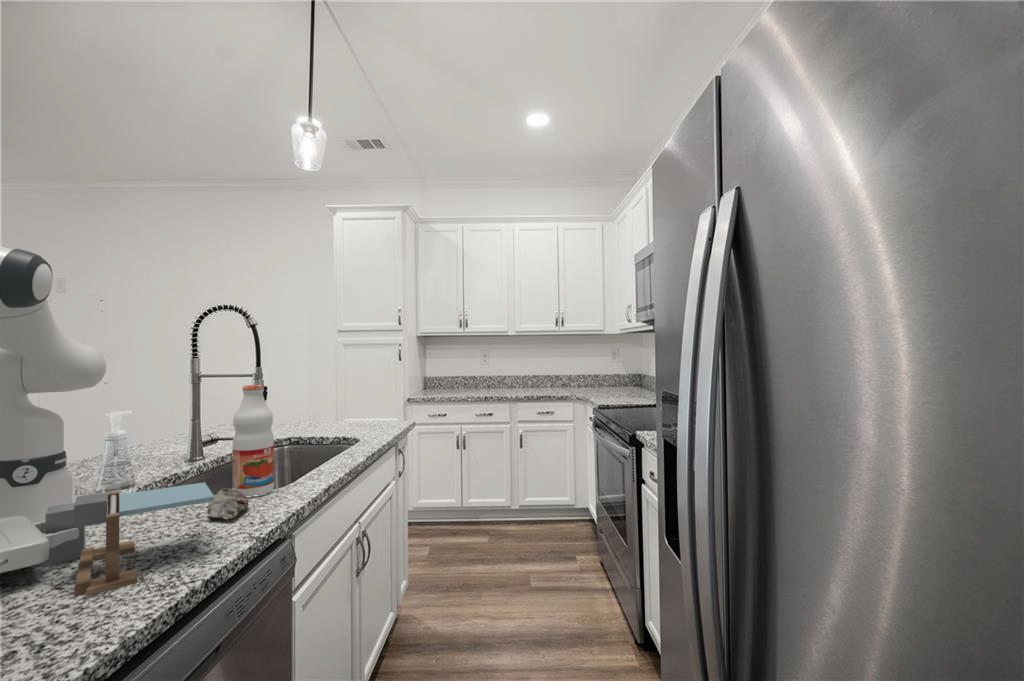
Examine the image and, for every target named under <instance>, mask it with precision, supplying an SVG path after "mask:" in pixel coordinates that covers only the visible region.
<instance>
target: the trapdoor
mask: <svg viewBox="0 0 1024 681" xmlns="http://www.w3.org/2000/svg"><path fill="white" fill-rule="evenodd" d="M108 493H109V492H101V493H95V494H94V493H93V494H87V495H80V496H78V495H77V498H76V501H75V505H74V524H73V528H77V527H83V526H86V527H88V526H95V525H100V524H106V515H108ZM210 501H214V494H213V492H212V491H211V489H210V488H209V486H208V485H207V483H206V482H205V481H204V482H198V483H191V484H183V485H178V486H169V487H164V488H155V489H149V490H143V491H134V492H130V493H128V492H127V493H121V494H120V493H119V518H120V517H126V516H132V515H138V514H143V513H145V514H146V513H151V512H156V511H162V510H169V509H173V508H180V507H185V506H192V505H197V504H203V503H208V502H210ZM114 513H116V495H112V496H111V501H110V514H114Z"/></svg>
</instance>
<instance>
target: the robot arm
mask: <svg viewBox="0 0 1024 681" xmlns="http://www.w3.org/2000/svg"><path fill="white" fill-rule="evenodd" d="M53 281H54V275H53V270H52V266H51V265H50V264H49V263H48V261H46V259H45V258H43V257H42V256H41V255H39V254H36V253H34V252H31V251H29V250H25V249H20V248H15V249H13V248H9V247H4V246H0V574H3V573H6V572H7V573H8V572H11V571H12V572H13V571H16V570H20V569H23V568H28V567H29V568H30V567H32V566H36V565H39V564H42V563H45V561H46V560H47V559H48V558H49V548H52V547H55V546H57V545H59V544H61V543H64V542H66V541H69V540H73V539H76V538H78V537H79V529H78V528H73V527H72V528H67V529H64V531H61V532H57V533H54V534H52V533H50V534H46V535H45V514H46V512H47V510H48V507H51V506H57V505H63V504H69V503H75V501H76V498H77V497H78V495H77V493H78V491H77V489H76V488H75V475H74V474H72V472H69V471H68V470H67V469H66V467H67V460H68V456H67V452H66V450H64V447H65V446H64V444H65V443H64V442H65V441H64V440H65V438H64V436H65V435H64V434H65V432H64V430H65V426H64V425H65V424H64V423H65V421H64V420H63V418H62V417H61V416H60V414H58V413H56V412H55V411H52V410H49V409H46V408H43V407H39V406H36V405H34V404H33V403H32V402H31V400H29V396H28V394H39V393H40V394H42V393H43V394H45V393H63V392H64V393H65V392H67V393H68V392H73V391H78V390H79V391H80V390H84V389H89V388H90V389H91V388H94V387H95V386H97V385H98V384H99V383H100V382H101V381H102V380H103V378H104V377H105V374H106V372H107V362H106V359H105V356H104V355H103V353H102V352H100V351H99V350H98V349H97V348H96V347H93V346H90V345H87V344H85V343H82V342H79V341H78V340H76V339H74V338H73V337H71V336H70V335H68V334H67V333H66V332H65V331H63V330H62V329H61V328H60V327H59V326H58V324H57V323H56V321H55V319H54V317H53V314H52V311H51V308H50V305H49V301H48V297H49V295H50V293H51V290H52V289H53V288H52V287H53V284H54V282H53Z"/></svg>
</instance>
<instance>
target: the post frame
mask: <svg viewBox="0 0 1024 681" xmlns="http://www.w3.org/2000/svg"><path fill="white" fill-rule="evenodd" d="M112 495H116V513H114V514H110V501H111V496H112ZM119 495H120V491H119V490H117V491H111V492H108V501H107V515H106V523H105V546H102V547H97V548H95V547H94V546H92V547H86V548H85V549H82V552H81V557H80V559H79V564H78V570H77V573H76V579H75V585H74V587H75V588H74V590H75V595H74V596H79V595H83V594H86V596H92V595H94V594H95V595H96V594H99V593H103V592H105V591H109V590H113V589H117V588H122V587H126V586H129V585H132V584H137V583H138V573H137V571H138V570H137V568H133V569H129V570H125V571H121V572H120V555H124V554H130V553H133V552H135V551H136V550H135V549H136V547H135V540H130V541H125V542H120V517H119ZM129 552H130V553H129ZM103 559H105V576H101V577H98V578H92V573H93V567H94V566H93V565H94V561H93V560H95V561H99V560H103Z"/></svg>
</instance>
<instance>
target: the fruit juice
mask: <svg viewBox="0 0 1024 681" xmlns="http://www.w3.org/2000/svg"><path fill="white" fill-rule="evenodd" d="M241 390H242V393H243V397H242V400H241V403H240V406H239V408H238V410H237V411H236V412H235V414H234V415H233V419H232V420H233V422H232V423H233V424H232V425H233V427H234V430H235V431H234V435H233V439H232V447H231V448H232V489H234V490H239V491H241V492H242V494H243V495H244V496H245V497H246V496H254V495H258V496H254V497H246V499H249V498H257V497H261V496H265V495H268V494H271V492H273V490H274V486H275V476H274V474H275V469H274V468H275V467H274V466H275V465H274V464H275V463H274V462H275V460H274V458H275V457H274V456H275V454H274V452H275V450H274V447H275V445H274V444H275V440H274V434H273V432H272V425H273V422H274V418H273V417H274V415H273V412H272V411H271V410H270V409H269V406H268V404H267V402H266V400H265V396H264V391H265V385H263V384H250V385H249V384H248V385H243V386H242V388H241ZM267 493H268V494H267ZM261 494H262V495H261Z"/></svg>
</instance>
